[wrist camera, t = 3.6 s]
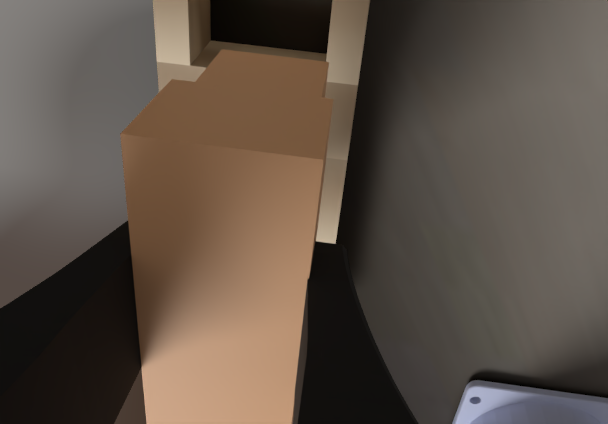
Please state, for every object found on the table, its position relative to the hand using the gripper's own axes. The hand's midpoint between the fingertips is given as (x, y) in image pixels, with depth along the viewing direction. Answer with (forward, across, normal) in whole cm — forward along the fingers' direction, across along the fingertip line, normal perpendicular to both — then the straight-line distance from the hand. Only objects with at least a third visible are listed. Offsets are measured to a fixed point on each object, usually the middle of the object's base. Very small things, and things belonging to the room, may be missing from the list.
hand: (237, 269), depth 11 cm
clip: (+4, 0, +1) cm, 4 cm away
